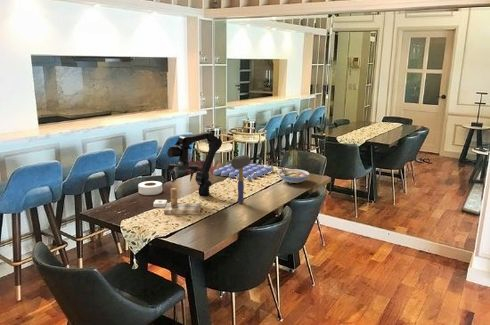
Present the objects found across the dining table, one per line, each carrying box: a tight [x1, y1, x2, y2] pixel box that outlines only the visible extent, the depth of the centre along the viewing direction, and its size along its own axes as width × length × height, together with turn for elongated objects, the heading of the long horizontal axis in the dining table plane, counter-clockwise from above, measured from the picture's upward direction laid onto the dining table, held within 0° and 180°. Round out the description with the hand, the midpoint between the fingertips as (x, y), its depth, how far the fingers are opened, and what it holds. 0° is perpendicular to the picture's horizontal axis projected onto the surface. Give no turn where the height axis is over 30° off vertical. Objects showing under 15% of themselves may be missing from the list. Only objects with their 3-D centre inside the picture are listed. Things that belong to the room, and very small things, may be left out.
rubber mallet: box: [230, 154, 251, 204], centre depth 245 cm, size 12×8×30 cm, turn 146°
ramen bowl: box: [277, 167, 310, 184], centre depth 293 cm, size 25×23×8 cm
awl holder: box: [152, 199, 168, 208], centre depth 243 cm, size 7×7×2 cm
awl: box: [170, 187, 178, 208], centre depth 233 cm, size 4×4×13 cm
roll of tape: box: [137, 180, 163, 196], centre depth 270 cm, size 16×16×6 cm
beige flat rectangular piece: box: [163, 202, 202, 215], centre depth 234 cm, size 20×12×3 cm, turn 91°
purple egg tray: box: [212, 163, 273, 181], centre depth 318 cm, size 35×34×5 cm
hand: (183, 180), depth 251 cm, fingers open, 9 cm apart
